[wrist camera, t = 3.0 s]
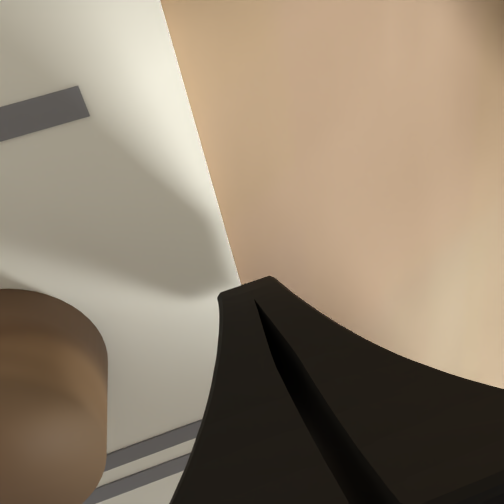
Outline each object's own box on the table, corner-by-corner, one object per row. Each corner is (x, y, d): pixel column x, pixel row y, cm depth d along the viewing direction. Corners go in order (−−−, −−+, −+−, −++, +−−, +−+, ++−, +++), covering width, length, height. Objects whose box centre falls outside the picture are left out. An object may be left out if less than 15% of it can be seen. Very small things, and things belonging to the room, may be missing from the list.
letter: (139, -70, 9) (139, -73, 8) (291, 464, 17) (295, 473, 16) (-617, 114, 7) (-650, 119, 7) (-54, 597, 15) (-58, 610, 15)
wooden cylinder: (65, 262, 11) (50, 344, 8) (132, 396, 13) (137, 492, 11) (-138, 327, 10) (-220, 434, 8) (-32, 454, 13) (-69, 570, 10)
